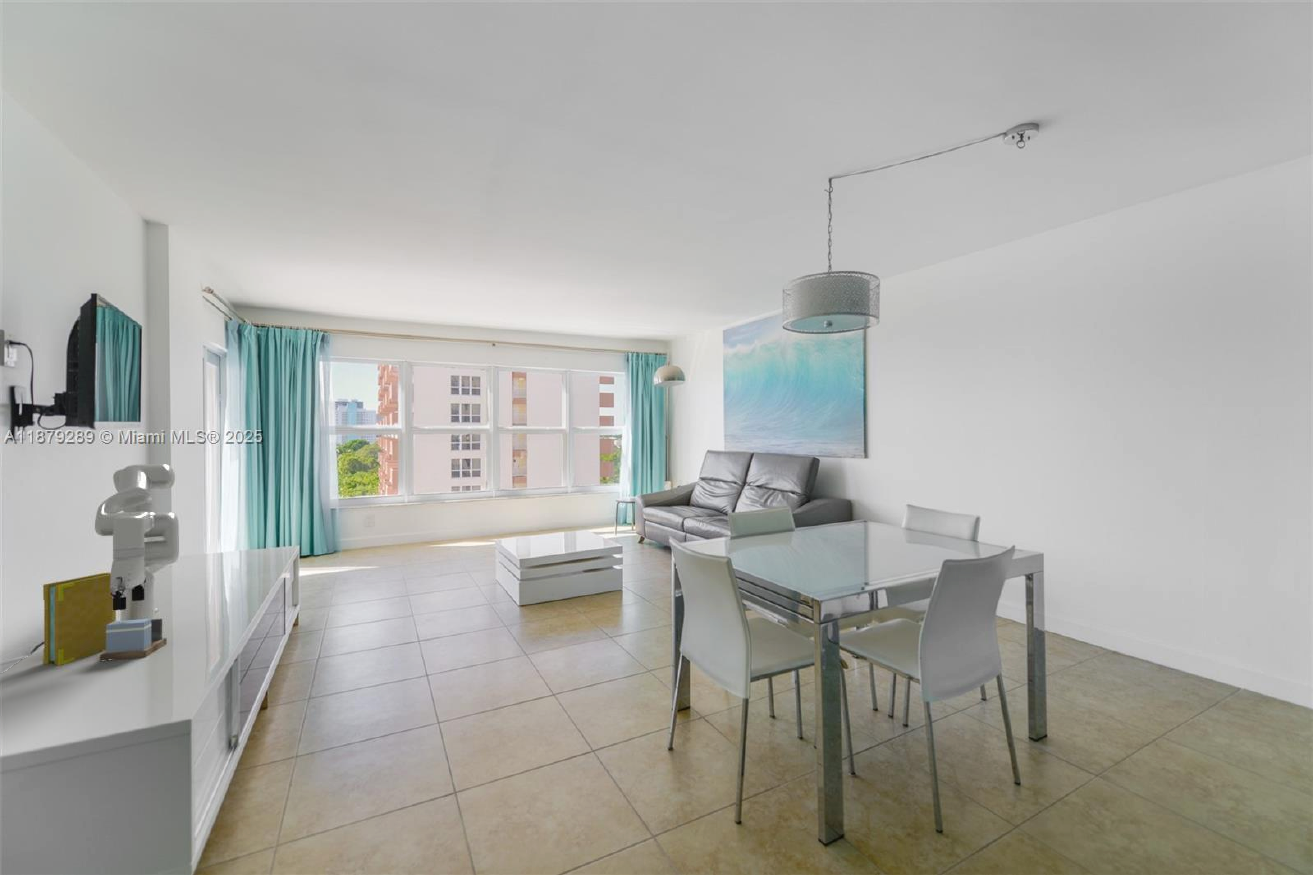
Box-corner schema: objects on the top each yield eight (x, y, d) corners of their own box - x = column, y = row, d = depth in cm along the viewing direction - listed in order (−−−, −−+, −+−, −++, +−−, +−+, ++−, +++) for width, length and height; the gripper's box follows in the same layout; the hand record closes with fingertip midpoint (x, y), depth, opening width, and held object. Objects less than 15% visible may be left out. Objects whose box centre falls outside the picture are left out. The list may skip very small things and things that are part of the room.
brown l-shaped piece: (123, 647, 188) (123, 621, 188) (166, 643, 192) (166, 617, 192) (100, 661, 177) (100, 633, 177) (146, 656, 180) (145, 629, 180)
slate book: (114, 648, 182) (114, 621, 182) (151, 645, 185) (151, 618, 185) (106, 653, 178) (106, 625, 178) (144, 649, 181) (144, 622, 181)
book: (59, 665, 174) (59, 585, 174) (43, 663, 175) (43, 584, 175) (121, 645, 190) (121, 572, 190) (106, 644, 192) (105, 572, 192)
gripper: (131, 548, 189) (131, 598, 189) (96, 559, 172) (97, 614, 173) (158, 547, 191) (158, 596, 191) (126, 558, 175) (126, 612, 175)
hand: (129, 605), depth 182 cm, fingers open, 9 cm apart
